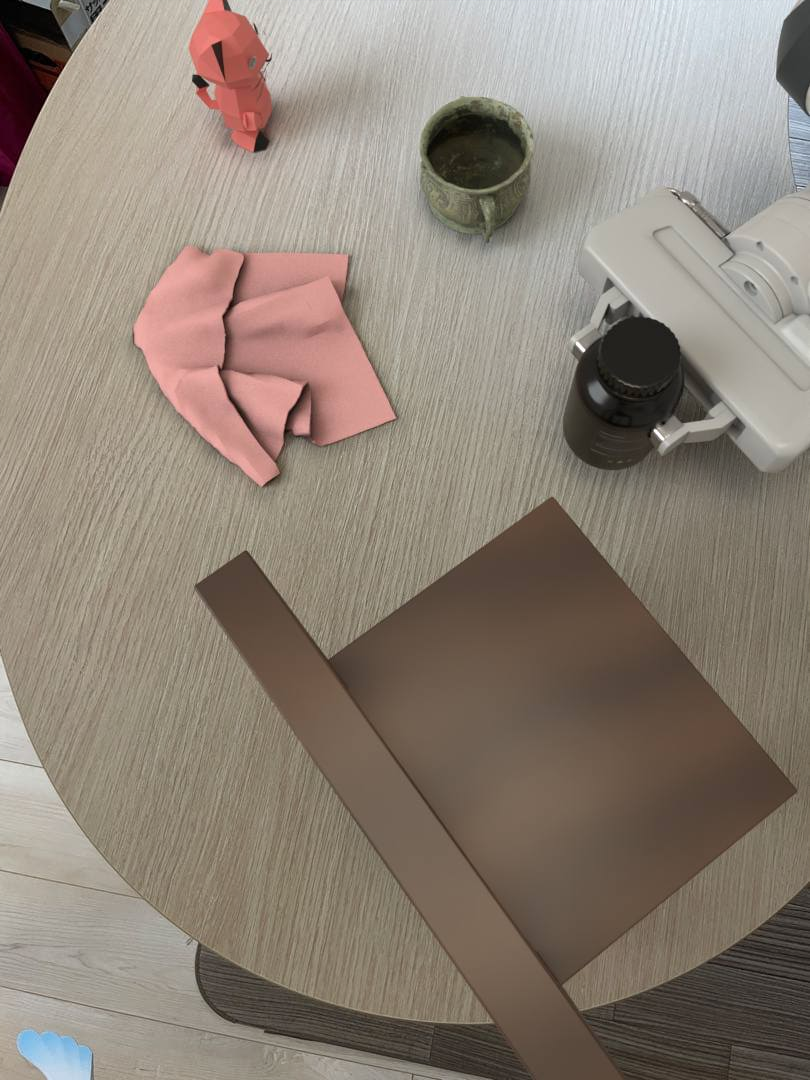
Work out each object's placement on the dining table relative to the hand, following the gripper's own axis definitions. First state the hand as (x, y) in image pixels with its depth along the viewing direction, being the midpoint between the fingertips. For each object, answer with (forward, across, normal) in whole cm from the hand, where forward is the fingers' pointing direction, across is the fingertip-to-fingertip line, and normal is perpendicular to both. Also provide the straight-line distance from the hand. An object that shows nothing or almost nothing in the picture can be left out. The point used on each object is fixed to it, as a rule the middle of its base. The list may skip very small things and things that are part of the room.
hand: (615, 397), depth 61 cm
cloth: (+15, -21, +10) cm, 28 cm away
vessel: (-7, -23, +10) cm, 26 cm away
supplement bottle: (-1, 0, +7) cm, 7 cm away
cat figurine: (+4, -40, +10) cm, 42 cm away
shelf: (+19, +14, +10) cm, 26 cm away
